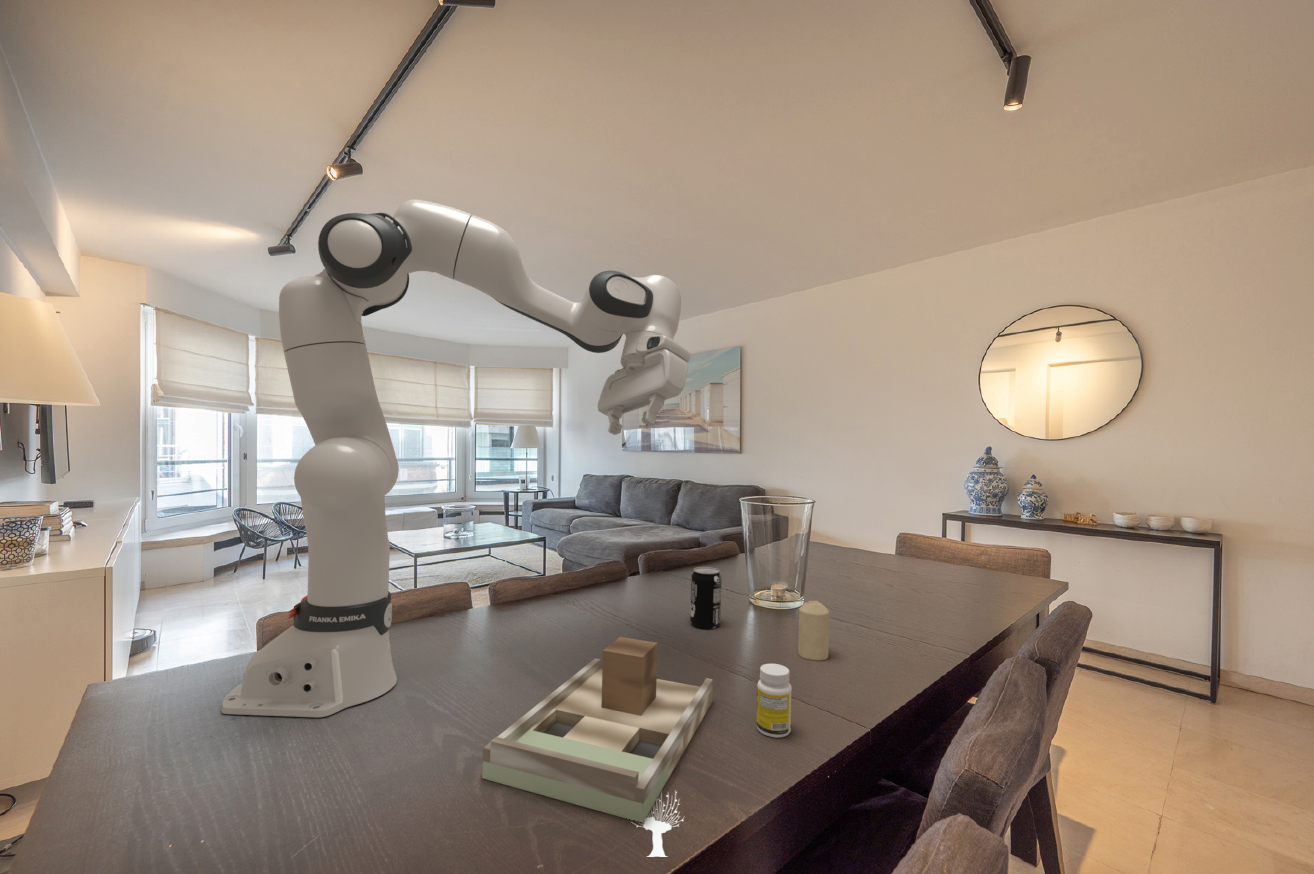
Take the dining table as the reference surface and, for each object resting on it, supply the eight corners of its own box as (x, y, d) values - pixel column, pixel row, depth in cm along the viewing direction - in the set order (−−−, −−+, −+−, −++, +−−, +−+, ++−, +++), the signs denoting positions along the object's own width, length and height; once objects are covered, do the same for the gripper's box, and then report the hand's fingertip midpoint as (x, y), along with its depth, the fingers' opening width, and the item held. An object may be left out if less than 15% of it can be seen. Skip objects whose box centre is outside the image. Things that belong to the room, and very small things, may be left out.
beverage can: (685, 621, 123) (687, 567, 123) (713, 619, 125) (714, 565, 125) (696, 630, 116) (698, 573, 116) (725, 628, 118) (726, 572, 118)
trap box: (594, 679, 91) (595, 652, 91) (712, 702, 84) (712, 672, 84) (482, 778, 64) (483, 739, 64) (642, 823, 57) (643, 779, 57)
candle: (829, 662, 101) (831, 607, 101) (798, 659, 102) (800, 605, 102) (826, 651, 107) (827, 599, 107) (797, 648, 108) (798, 597, 108)
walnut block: (618, 689, 83) (620, 636, 83) (656, 697, 81) (657, 642, 81) (601, 707, 78) (602, 650, 78) (641, 715, 76) (642, 657, 76)
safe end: (521, 743, 71) (522, 727, 72) (667, 779, 65) (668, 762, 65) (482, 778, 64) (482, 760, 64) (642, 823, 57) (643, 803, 57)
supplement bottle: (766, 717, 80) (767, 659, 80) (796, 728, 77) (798, 668, 77) (749, 730, 76) (751, 669, 76) (781, 742, 73) (782, 679, 74)
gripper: (599, 366, 105) (581, 431, 100) (671, 332, 90) (654, 408, 84) (624, 380, 108) (609, 444, 103) (698, 350, 93) (684, 424, 88)
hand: (630, 428), depth 94 cm, fingers open, 8 cm apart
